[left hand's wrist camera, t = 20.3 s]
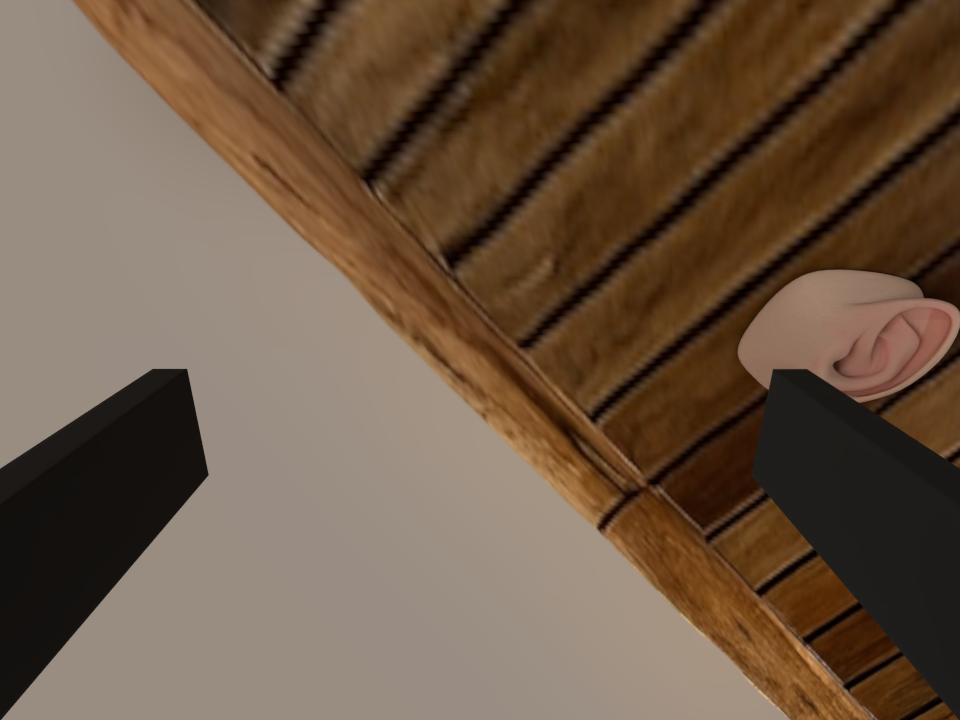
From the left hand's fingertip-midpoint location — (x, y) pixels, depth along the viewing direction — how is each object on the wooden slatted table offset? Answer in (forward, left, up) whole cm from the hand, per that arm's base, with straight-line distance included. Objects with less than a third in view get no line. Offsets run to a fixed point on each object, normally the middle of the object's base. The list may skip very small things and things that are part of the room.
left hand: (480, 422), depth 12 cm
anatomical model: (-13, +26, -30) cm, 41 cm away
